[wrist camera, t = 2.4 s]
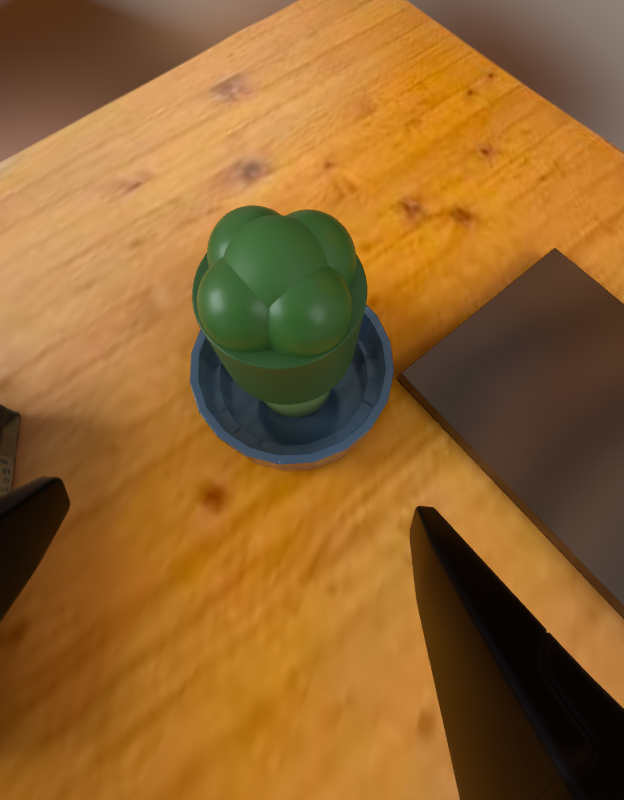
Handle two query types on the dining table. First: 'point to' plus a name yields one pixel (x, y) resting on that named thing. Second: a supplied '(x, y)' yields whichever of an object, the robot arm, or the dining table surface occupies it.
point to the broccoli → (281, 304)
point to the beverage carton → (7, 447)
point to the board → (543, 408)
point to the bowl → (303, 436)
